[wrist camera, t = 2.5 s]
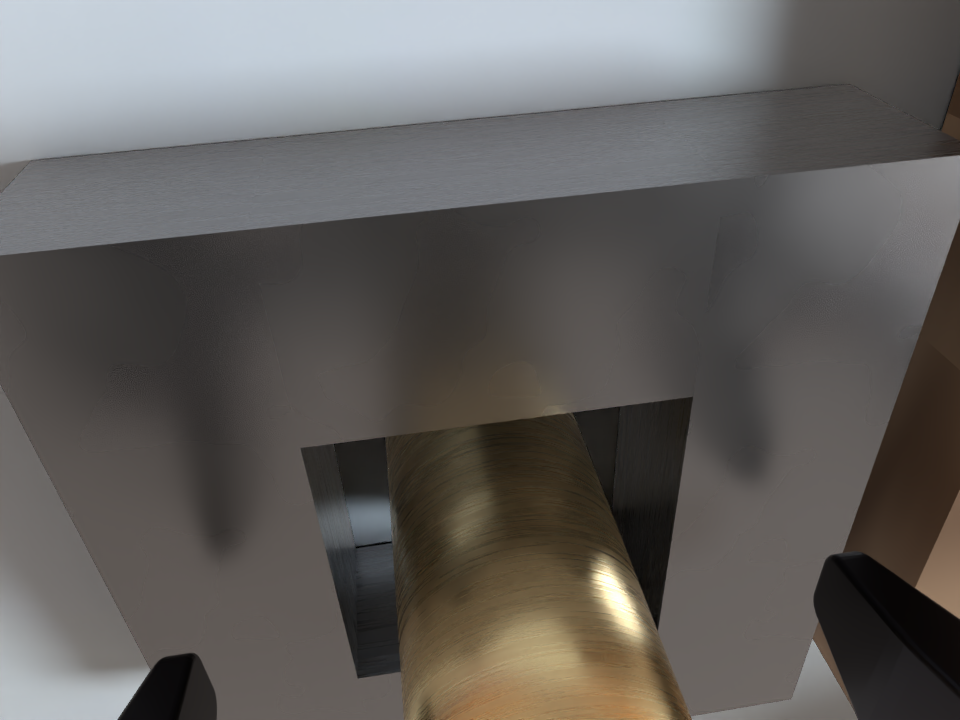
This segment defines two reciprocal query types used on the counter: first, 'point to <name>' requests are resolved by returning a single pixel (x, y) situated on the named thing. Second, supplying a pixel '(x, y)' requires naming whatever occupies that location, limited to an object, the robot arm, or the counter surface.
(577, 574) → the peg
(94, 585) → the counter surface
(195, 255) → the socket block
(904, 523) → the rack
